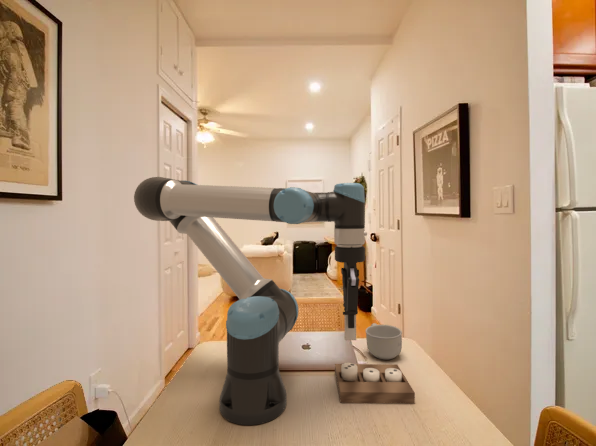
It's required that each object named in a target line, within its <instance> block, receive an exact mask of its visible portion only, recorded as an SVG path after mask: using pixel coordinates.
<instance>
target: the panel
mask: <svg viewBox="0 0 596 446" xmlns="http://www.w3.org/2000/svg"><path fill="white" fill-rule="evenodd" d="M342 364H343V363H334V375H335V376H334V377H335V381H336V386H337V391H338V395H339V401H340V403H341V404H343V403H344V404H411V405H413V404H416V396H415V395H416V394H415V391H414V389H413V387H412V385H410V383H409V381H408V380H407V378H406V377H405V374H404V373H403V372H402V370H401V368H400V366H399V365H398V364H394V363H393V364H386V363H385V364H382V363H381V364H380V363H379V364H378V363H377V364H374V363H373V364H370V363H369V364H368V363H365V364H364V363H361V364H360V363H357V364H356V363H355V364H356V365H357V379H356V380H354V381H347V380H344V379H342V377H341V365H342ZM365 368H374V369H377V370H378V371H379V382H363V370H364V369H365ZM387 368H395V369H398V370H400V371H401V372H402V382H386V381H385V370H386V369H387Z"/></svg>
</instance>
